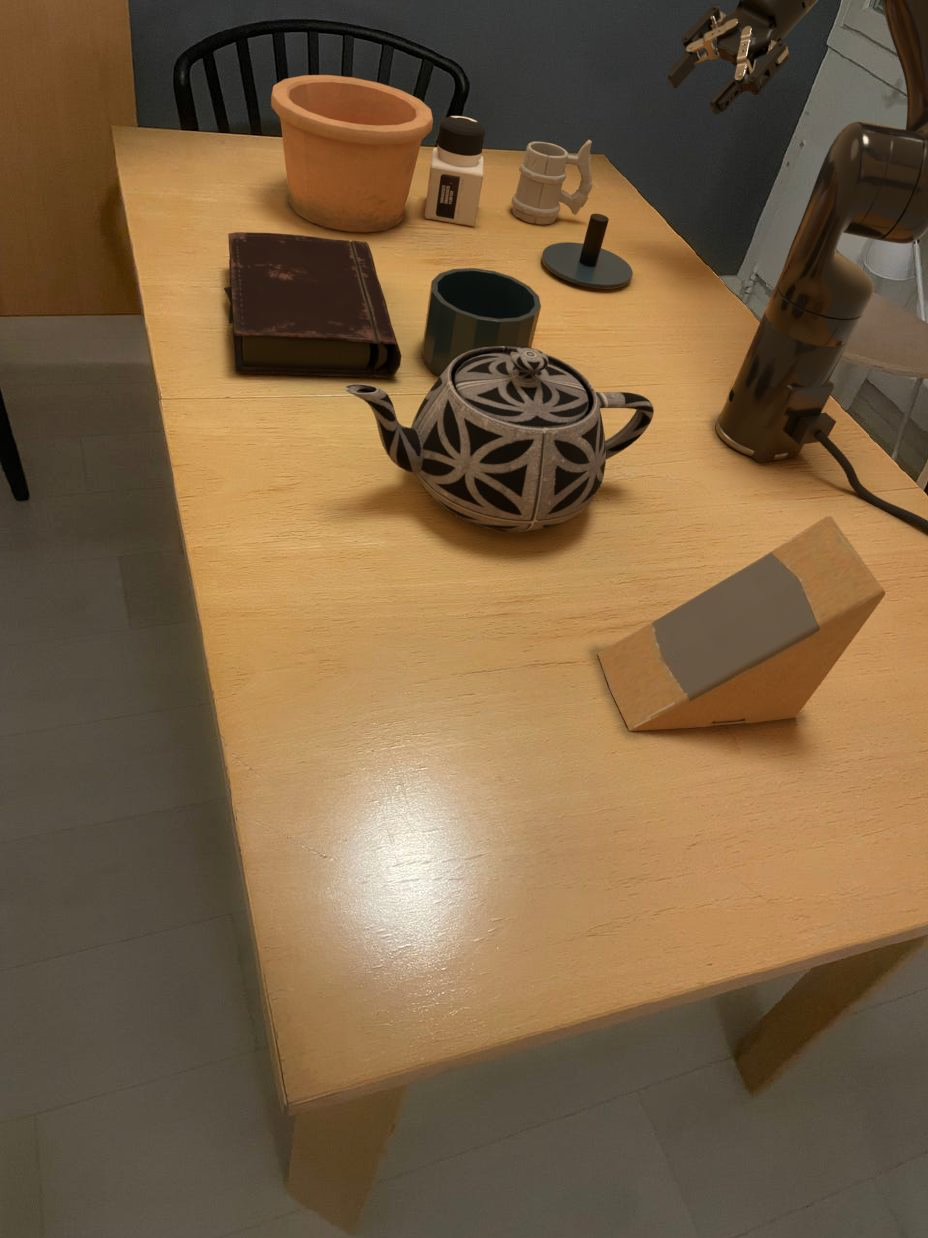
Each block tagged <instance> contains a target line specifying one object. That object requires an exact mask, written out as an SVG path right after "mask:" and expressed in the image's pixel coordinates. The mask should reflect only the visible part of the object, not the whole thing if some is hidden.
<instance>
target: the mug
mask: <svg viewBox="0 0 928 1238" xmlns="http://www.w3.org/2000/svg"><path fill="white" fill-rule="evenodd" d="M592 144H593V142H592V140H591V139H588V140H586V141H585V143H584V144H583V145H582V146H581V147H580V148H579V150H578V152H577V154H576V155H574V154H569V152H568V151H567V150H566V149H564V147H562V146H560V145H557V144H554V143H552V142H551V143H550V142H545V141H531V142H529V143H527V145H526V149H525V153H524V158H523V161H522V162H521V164H520V165H519V172H520V174H519V179H518V183H517V186H516V187H517V188H516V191H515V193H514V194H513V195H512V197H511V205H512V208H511V212H512V214H513V216H515V217H516V218H518V219H520V220H522V221H523V222H526V223H528V224H532V225H534V224H535V225H540V226H543V225H544V226H545V225H551V224H553V223H555V222H556V218H557V216H558V215H559V213H560V211H561V204H560V203H562V204H564V205H566V206H567V207H568V208H569V209H570V212H571V213H572V214H573V215H574V216H577V215H578V214H579V211H580V210H581V208H583V207H584V205H586V203H587V201H588V199H589V194H590V192H591V190H592V188H593V183H592V182H593V179H592V177H593V175H592V166H591V148H592ZM567 165H572V166H577V169H578V171H579V174H580V181H579V186H578V189H576V191H575V192H574V193H572V194H570V193H569V192H567V191H565V190H564V189H562V188H563V183H564V182H565V181H566V178H567V172H566V168H567Z"/></svg>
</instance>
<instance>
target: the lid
mask: <svg viewBox="0 0 928 1238" xmlns="http://www.w3.org/2000/svg"><path fill="white" fill-rule="evenodd" d="M609 221H610V219H609V217H608V216H607V215H604V214H601V213H592V214H590V216H589V219H588V224H587V228H586V232H585V236H584V240H583V243H582V242H570V241H569V242H568V241H567V242H566V241H565V242H557V243H552V244H550V245H548V246H546V247H545V248H544V249H543V251H542V253H541V262H542V264H543V265H544V267H545V268H546V269H547V270H548V271H549V272H550V273H552V274H554V275H556V276H557V277H559V278H561V279H562V280H565V281H567V282H569V283H572V284H575V285H578V286H582V287H583V286H584V287H587V288H593V289H617V288H621V287H624V286H626V285H628V284H630V282H631V280H632V277H633V273H634V272H633V269H632V266H631V265H630V264H629V263H628V262H627V261H626V260H625V259H624V258H622V257H621V256H619V255H617V254H615V253H614V252H612V251H609V250H607V249H604V248H602V246H603V243H604V239H605V236H606V232H607V228H608V224H609Z"/></svg>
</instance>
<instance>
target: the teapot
mask: <svg viewBox="0 0 928 1238" xmlns="http://www.w3.org/2000/svg"><path fill="white" fill-rule="evenodd" d="M343 390H344V391H345V392H347V393H348V394H351V395H353V396H355V397H357V398H360V399H361V400H362V401H364V402H365V403H366V404H367V405H368V406H369V407H370V409H371V411H372V413H373V415H374V419H375V422H376V426H377V430H378V435H379V439H380V441H381V445H382V447H383V449H384V451H385V454H386V455H387V456H388V458H389V459H390V460H391V461H392V463H394V465H396V466H397V467H398V468H400V469H402V470H404V471H405V472H408V473H411V474H415V476H416V478H417V480H418V481H419V483H420V484H421V486H422V487H423V488H424V490H425V491H426V492H427V493H428V494H429V495H430V497H432V498H433V499H434V500H435V501H436V502H437V503H439V504H440V505H441V506H442V507H444V508H445V509H446V510H447V511H449V512H450V513H451V514H453V515H454V516H456V517H457V518H459V519H461V520H463V521H464V522H466V523H469V524H472V525H474V526H475V527H476V526H477V527H480V528H483V529H486V530H492V531H495V532H504V533H505V532H506V533H525V532H531V531H532V532H533V531H537V530H541V529H546V528H549V527H553V526H558V525H560V524H562V523H565V522H568V521H570V520H571V519H573V518H574V517H576V516H578V515H579V514H581V513H582V512H583V511H584V510H585V509H586V508H588V507H589V506H590V505H591V503H592V502H593V501H594V499H595V498H596V497H597V495H598V494H599V491H600V489H601V487H602V484H603V480H604V476H605V470H606V464H607V460H608V459H611V458H612V457H614V456H616V455H617V454H620V453H621V452H623V451H624V450H625V449H627V448H629V447H630V446H631V445H633V444H634V443H635V442H636V441H637V440H638V439H639V438H641V436H642V435H643V434H644V433H645V432H646V430H647V429H648V427H649V426H650V424H651V422H652V420H653V418H654V414H655V413H654V412H655V410H654V409H655V408H654V405H653V403H652V402H651V400H650V399H649V398H648V397H645V396H644V395H643V394H642V395H641V394H639V393H634V392H626V391H596V390H595V389H594V386H593V385H592V384H591V383H590V381H589V380H588V379H587V378H586V377H585V376H584V375H583V374H582V373H581V372H580V371H579V370H578V369H576V368H574V367H573V366H572V365H570V364H568V363H566V362H565V361H564V360H561V359H559V358H557V357H555V356H552V355H550V354H547V353H544V352H543V351H541V350H539V349H536V348H535V347H534V348H533V347H531V348H529V347H519V348H518V347H506V346H494V347H484V348H478V349H474V350H471V351H468V352H466V353H464V354H462V355H460V356H458V357H457V358H455V359H454V360H453V361H452V362H451V363H450V364H449V366H448V367H447V368H446V369H445V371H444V372H443V373H442V374H441V376H440V377H438V378H437V380H436V381H435V383H434V384H433V385H432V386H431V388H430V389H429V391H428V392H427V393H426V395H425V397H424V398H423V400H422V402H421V404H420V405H419V407H418V409H417V411H416V413H415V415H414V418H413V420H412V423H411V427H407V426H404V425H402V424H401V423H400V422H399V419H398V418H397V414H396V410H395V407H394V404H393V401H392V399H391V398H390V396H389V394H388V393H387V392H386V391H385V390H383V389H382V388H381V387H379V386H376V385H372V384H367V383H350V384H347V385H344V387H343ZM601 409H630V410H635V412H634V414H633V415H632V416H631V418H630V419H629V421H628V422H627V423H626V424H625V425H624V426H623V427H622V428H621V429H620V430H619V431H618V432H616V433H615V434H613V435H612V436H611V437H609V438H607V439H606V436H605V429H604V423H603V417H602V412H601Z"/></svg>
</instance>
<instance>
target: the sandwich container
mask: <svg viewBox="0 0 928 1238" xmlns="http://www.w3.org/2000/svg"><path fill="white" fill-rule="evenodd" d="M885 596H886V591H885V590H884V588H883V586H882V585H881V584H880V582H879V581H878V580H877V578H876V577H875V575H874V574H873V573H872V571H871V570H870V568H869V567H868V565H867V564H866V562H865V561H864V560H863V558H862V557H861V556H860V554H859V553H858V551H857V550H856V549H855V547H854V546H853V545H852V543H851V541H850V540H849V539H848V537H847V536H846V535H845V533H844V532H843V530H842V529H841V528H840V526H839V525H838V523H837V522H836V521H835V519H834V518H833V516H832V515H827V516H825V517H823V518H821V519H820V520H819V521H817V522H815V523H814V524H812V525H810V526H809V527H807V528H805V529H804V530H803V531H801V532H800V533H798V534H796V535H795V536H794V537H792V538H791V539H788V540H787V541H786V542H784V543H782V544H781V545H779V546H778V547H776V548H775V549H773V550H771V551H770V552H769V553H767V554H765V555H763V556H762V557H760V558H758V559H757V560H755V561H753V562H752V563H750V564H749V565H747V566H745V567H743V568H741V569H740V570H739V571H736V572H735V573H733V574H731V575H730V576H728V577H726V578H725V579H723V580H721V581H719V582H717V583H716V584H715V585H713V586H711V587H709V588H708V589H706V590H704V591H702V592H701V593H699V594H698V595H696V596H695V597H693V598H691V599H690V600H688V601H685V602H684V603H683V604H681V605H679V606H677V607H676V608H674V609H673V610H670V611H669V612H667V613H665V614H663V615H662V616H661V617H658V619H655V620H654V621H652V622H650V623H649V624H646V625H645V626H643V627H642V628H640V629H638V630H636V631H634V632H633V633H631V634H630V635H627V636H626V637H623V638H622V639H620V640H619V641H617V642H615V643H614V644H612V645H609V646H608V647H606V648H605V649H603V650H601V651H599V652H597V657H598V660H599V662H600V665H601V668H602V671H603V673H604V676H605V679H606V682H607V684H608V687H609V690H610V693H611V694H612V696H613V699H614V701H615V703H616V705H617V707H618V710H619V711H620V714H621V716H622V718H623V719H624V722H625V724H626V726H627V728H628V731H629V732H634V731H635V732H637V731H652V730H653V731H655V730H656V731H657V730H674V729H690V728H691V729H692V728H708V727H715V726H725V725H739V724H754V723H755V724H756V723H762V722H770V721H771V722H772V721H778V720H779V721H780V720H788V719H795V718H796V717H797V716H798V714H799V713H800V712H801V711H802V709H804V707H805V706H806V704H807V703H808V701H809V700H810V699H811V698H812V696H813V695H814V694H815V692H816V691H817V690H818V688H819V687H820V686H821V684H822V683H823V681H824V680H825V678H826V677H827V676H828V675H829V673H830V672H831V671H832V669H833V667H834V666H835V664H836V663H837V662H838V661H839V659H840V658H841V656H842V655H843V654H844V652H845V651H846V650H847V649H848V647H849V645H850V644H851V643H852V642H853V640H854V639H855V637H856V636H857V634H858V633H859V632H860V630H861V629H862V627H863V626H864V625H865V623H866V622H867V621H868V619H869V618H870V616H871V615H872V614H873V613H874V611H875V610H876V608H877V607H878V606H879V605H880V603H881V602H882V600H883V599H884V597H885Z"/></svg>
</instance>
